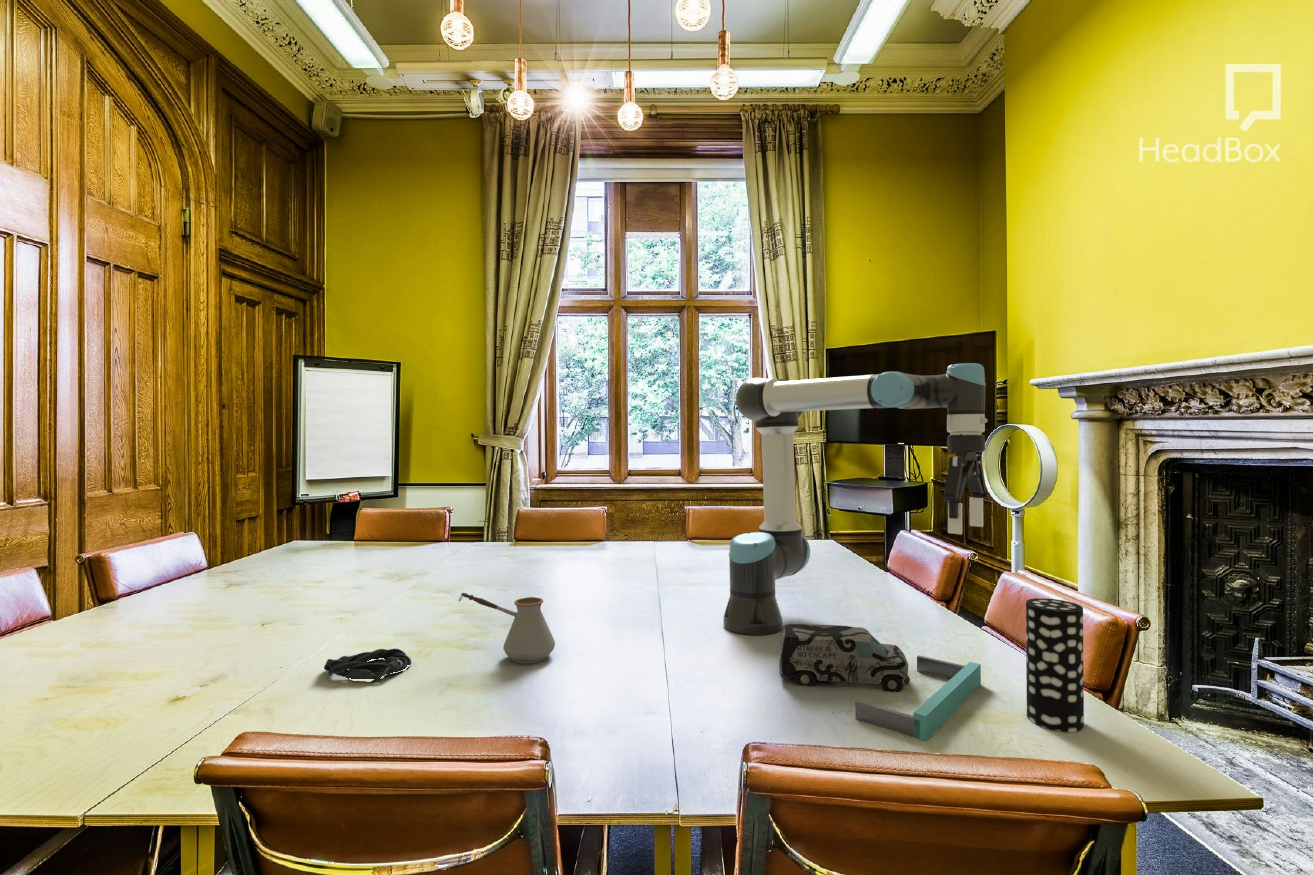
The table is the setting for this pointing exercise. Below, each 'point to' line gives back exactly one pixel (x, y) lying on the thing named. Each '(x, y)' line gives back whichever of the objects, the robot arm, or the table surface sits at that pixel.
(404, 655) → the cable
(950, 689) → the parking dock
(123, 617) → the table surface
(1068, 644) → the white-spotted black cylinder
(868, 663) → the toy car
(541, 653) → the coffee pot
